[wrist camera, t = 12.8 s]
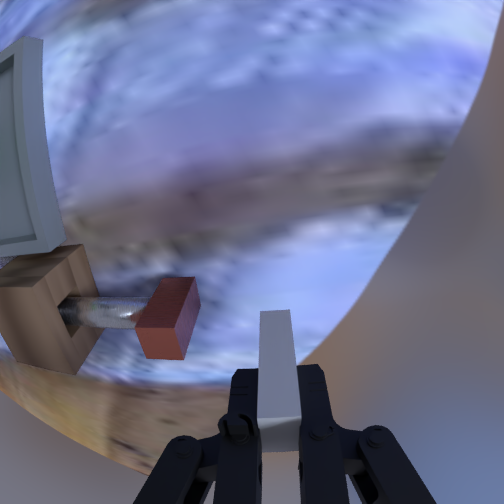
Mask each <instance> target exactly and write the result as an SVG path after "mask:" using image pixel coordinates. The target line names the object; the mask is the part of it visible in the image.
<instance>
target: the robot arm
mask: <svg viewBox="0 0 504 504" xmlns="http://www.w3.org/2000/svg"><path fill="white" fill-rule="evenodd" d="M218 428H219V431H220V433H218V434H217V435H215V436H212V437H209V438H204V439H200V440H197V439H195V438H193V437H191V436H185V435H183V436H178V437H176V438H174V439H172V440H171V441H170V442H169V443H168V444H167V446H166V448H165V450H164V451H163V453H162V455H161V456H160V458H159V460H158V462H157V463H156V465H155V467H154V469H153V470H152V472H151V474H150V475H149V477H148V479H147V481H146V482H145V484H144V486H143V487H142V489H141V491H140V492H139V494H138V496H137V497H136V499H135V501H134V502H133V504H203V503H204V501H205V499H206V497H207V494H208V492H209V489H210V488H211V485H212V483H213V481H216V483H215V491H214V499H213V504H261V499H262V498H261V497H262V452H285V451H299V465H298V470H299V476H300V494H301V504H350V503H349V497H348V489H347V483H346V476H345V474H348V475H349V477H350V479H351V481H352V484H353V486H354V488H355V490H356V492H357V494H358V496H359V498H360V500H361V502H362V504H436V502H435V500H434V499H433V497H432V496H431V494H430V492H429V491H428V489H427V488H426V486H425V484H424V483H423V481H422V479H421V478H420V476H419V475H418V473H417V471H416V470H415V468H414V467H413V465H412V464H411V462H410V460H409V459H408V457H407V456H406V454H405V453H404V451H403V449H402V448H401V446H400V445H399V443H398V442H397V440H396V438H395V437H394V435H393V434H392V433H391V431H390V430H389V429H388V428H386V427H383V426H379V425H374V426H370V427H367V428H366V429H364V430H363V431H356V430H349V429H344V428H342V427H340V426H339V425H338V424H336V422H335V421H334V419H333V416H332V412H331V406H330V401H329V396H328V391H327V385H326V381H325V375H324V372H323V370H322V369H321V368H320V367H319V365H318V364H311V365H299V366H296V358H295V349H294V341H293V332H292V324H291V316H290V310H275V311H260V338H259V368H256V369H237V371H236V372H235V374H234V375H233V376H232V381H231V389H230V397H229V405H228V413H227V414H225V415H224V416H223V417H222V418H221V419H220V420H219V422H218Z"/></svg>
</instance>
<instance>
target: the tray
mask: <svg viewBox="0 0 504 504" xmlns="http://www.w3.org/2000/svg"><path fill="white" fill-rule="evenodd" d="M42 52H43V40H41V39H37V38H32V37H27V36H23V37H22V38H20V39H19V40H17V41H16V42H14V43H13V44H11V45H10V46H9V47H7V48H6V49H4V50H3V51H2V52H0V257H6V256H16V255H25V254H35V253H45V252H51V251H52V250H53V249H55V248H56V247H57V246H59V245H60V244H61V243H63V242H64V241H66V240H67V238H66V235H65V231H64V227H63V223H62V219H61V215H60V211H59V207H58V203H57V198H56V193H55V188H54V183H53V178H52V172H51V167H50V160H49V154H48V147H47V139H46V130H45V120H44V107H43V87H42Z"/></svg>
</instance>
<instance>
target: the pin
mask: <svg viewBox="0 0 504 504" xmlns="http://www.w3.org/2000/svg"><path fill="white" fill-rule="evenodd" d="M200 307H201V304H200V299H199V294H198V289H197V284H196V279H195V277H178V278H163V279H162V280H161V282H160V284H159V285H158V287H157V289H156V290H155V292H154V294H153V296H152V297H65V298H64V299H63V300H62V301H61V303H60V304H59V305H58V306H57V309H58V311H59V313H60V315H61V318H62V320H63V322H64V324H65V325H70V326H82V327H96V328H114V329H135V330H136V333H137V336H138V338H139V341H140V344H141V346H142V349H143V351H144V354H145V356H146V358H147V359H165V360H184V358H185V355H186V352H187V348H188V345H189V342H190V339H191V335H192V332H193V329H194V326H195V323H196V319H197V316H198V313H199V310H200Z"/></svg>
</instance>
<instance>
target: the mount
mask: <svg viewBox="0 0 504 504" xmlns="http://www.w3.org/2000/svg"><path fill="white" fill-rule="evenodd" d="M65 297H100V296H99V293H98V290H97V287H96V284H95V281H94V278H93V275H92V272H91V269H90V266H89V263H88V260H87V256H86V253H85V249H84V246H83V244H79V245H70V246H60V247H56V248H55V249H53V250H52V251H51V252H45V253H35V254H25V255H19V256H17V257H16V258H14V259H13V260H12V261H10V262H9V263H8V264H6V265H5V266H4V267H2V268H1V269H0V333H1V335H2V337H3V339H4V340H5V342H6V344H7V346H8V347H9V349H10V351H11V352H12V354H13V356H14V357H15V359H16V361H17V362H21V363H24V364H28V365H32V366H36V367H40V368H44V369H48V370H53V371H57V372H62V373H67V374H72V375H76V374H77V372H78V371H79V369H80V367H81V366H82V364H83V362H84V361H85V359H86V358H87V356H88V354H89V353H90V351H91V350H92V348H93V346H94V345H95V343H96V342H97V340H98V339H99V337H100V335H101V334H102V332H103V331H104V329H105V328H96V327H82V326H70V325H65V324H64V322H63V320H62V318H61V315H60V313H59V311H58V309H57V306H58V305H59V304H60V303H61V301H62V300H63V299H64V298H65Z"/></svg>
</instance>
